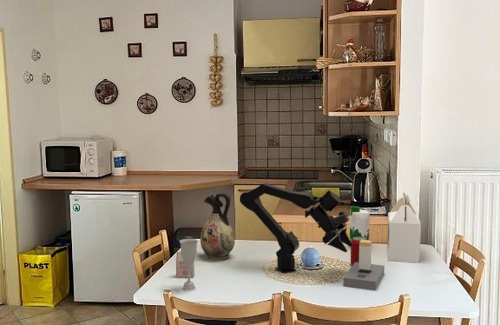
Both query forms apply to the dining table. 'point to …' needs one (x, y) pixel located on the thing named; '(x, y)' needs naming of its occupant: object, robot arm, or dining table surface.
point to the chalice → (188, 259)
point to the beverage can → (355, 249)
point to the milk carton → (359, 223)
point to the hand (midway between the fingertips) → (349, 248)
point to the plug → (365, 254)
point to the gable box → (403, 232)
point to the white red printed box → (182, 267)
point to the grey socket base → (364, 277)
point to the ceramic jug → (217, 230)
